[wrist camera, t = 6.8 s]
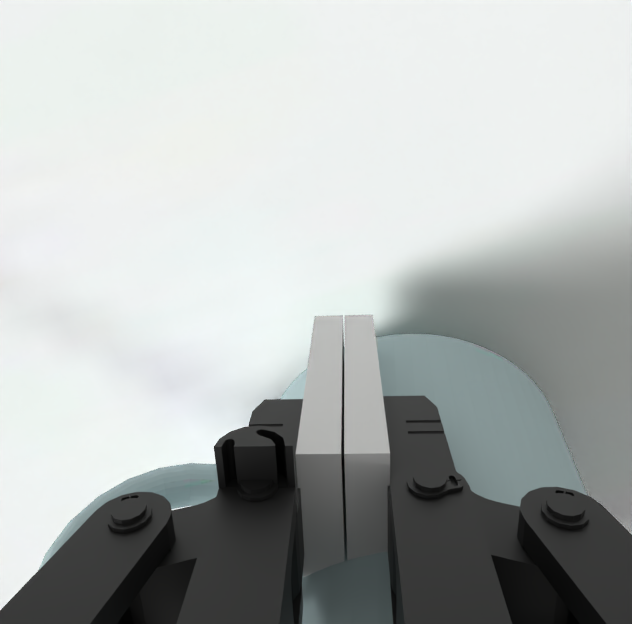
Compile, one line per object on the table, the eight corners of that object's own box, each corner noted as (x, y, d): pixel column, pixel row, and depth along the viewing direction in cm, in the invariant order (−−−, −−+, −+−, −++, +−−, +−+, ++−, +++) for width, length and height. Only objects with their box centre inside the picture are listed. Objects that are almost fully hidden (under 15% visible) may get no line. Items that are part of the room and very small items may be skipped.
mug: (605, 360, 16) (864, 785, 8) (510, 574, 21) (606, 994, 12) (121, 287, 17) (-159, 618, 8) (132, 514, 21) (-38, 883, 12)
